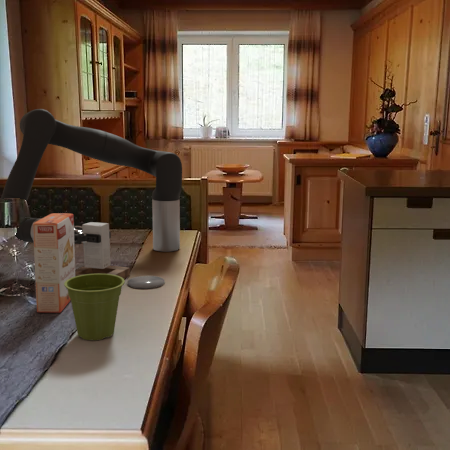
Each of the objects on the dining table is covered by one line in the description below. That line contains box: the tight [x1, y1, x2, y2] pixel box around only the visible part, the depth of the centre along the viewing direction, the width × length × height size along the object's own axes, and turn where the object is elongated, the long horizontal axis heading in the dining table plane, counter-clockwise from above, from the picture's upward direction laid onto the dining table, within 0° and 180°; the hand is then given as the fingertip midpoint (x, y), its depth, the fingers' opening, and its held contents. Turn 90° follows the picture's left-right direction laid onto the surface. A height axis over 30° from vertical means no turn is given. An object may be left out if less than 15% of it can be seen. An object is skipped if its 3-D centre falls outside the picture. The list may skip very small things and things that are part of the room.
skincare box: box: [81, 221, 112, 269], centre depth 143 cm, size 6×4×12 cm
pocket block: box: [75, 265, 131, 280], centre depth 145 cm, size 13×13×2 cm
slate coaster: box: [126, 275, 166, 290], centre depth 142 cm, size 10×10×1 cm
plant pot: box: [64, 274, 126, 341], centre depth 107 cm, size 12×12×11 cm
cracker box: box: [33, 212, 76, 314], centre depth 124 cm, size 14×6×21 cm, turn 2°
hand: (105, 236), depth 142 cm, fingers closed on skincare box, 4 cm apart
